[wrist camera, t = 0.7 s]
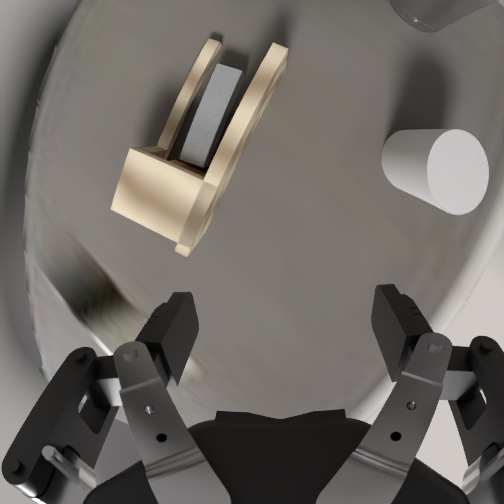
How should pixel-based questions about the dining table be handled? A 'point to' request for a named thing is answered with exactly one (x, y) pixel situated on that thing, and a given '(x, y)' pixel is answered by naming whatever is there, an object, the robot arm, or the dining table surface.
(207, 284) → the dining table surface
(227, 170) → the bridge channel
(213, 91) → the grey long rectangular bar
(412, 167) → the cup
